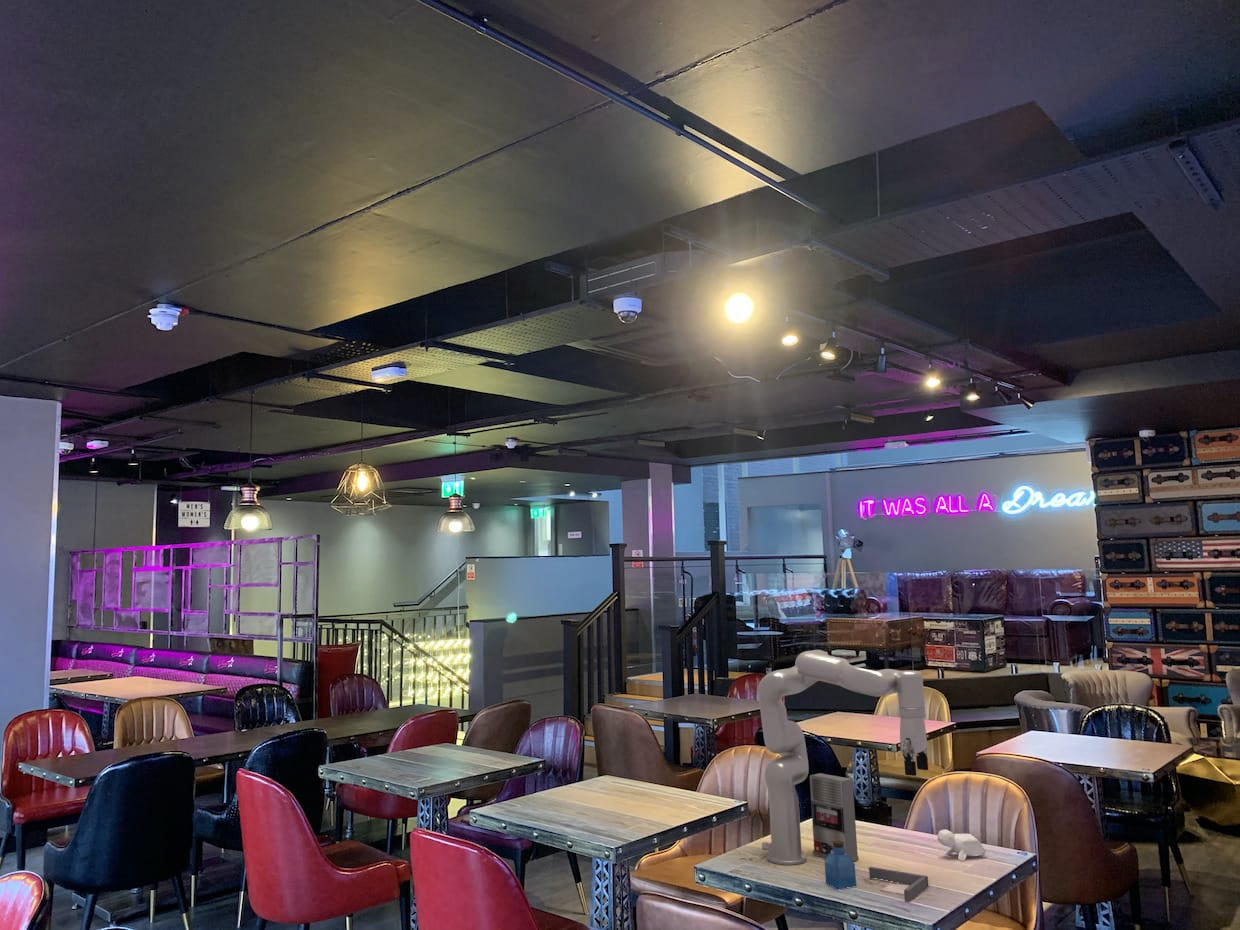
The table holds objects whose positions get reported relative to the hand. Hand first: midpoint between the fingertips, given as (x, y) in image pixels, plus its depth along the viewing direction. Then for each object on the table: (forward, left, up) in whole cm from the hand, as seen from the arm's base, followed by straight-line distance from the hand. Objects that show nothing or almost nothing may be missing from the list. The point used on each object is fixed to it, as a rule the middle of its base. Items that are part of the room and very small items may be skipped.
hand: (916, 772), depth 260 cm
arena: (-7, -10, -31) cm, 34 cm away
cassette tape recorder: (-33, +10, -32) cm, 47 cm away
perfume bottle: (-20, -14, -32) cm, 40 cm away
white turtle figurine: (0, +32, -32) cm, 45 cm away
